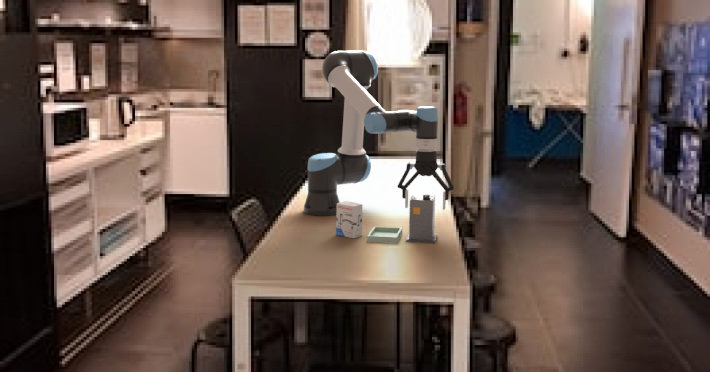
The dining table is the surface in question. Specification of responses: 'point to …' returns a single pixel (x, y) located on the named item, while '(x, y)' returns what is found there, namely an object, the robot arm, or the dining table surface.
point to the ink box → (349, 219)
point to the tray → (384, 234)
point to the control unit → (422, 219)
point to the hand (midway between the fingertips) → (425, 208)
